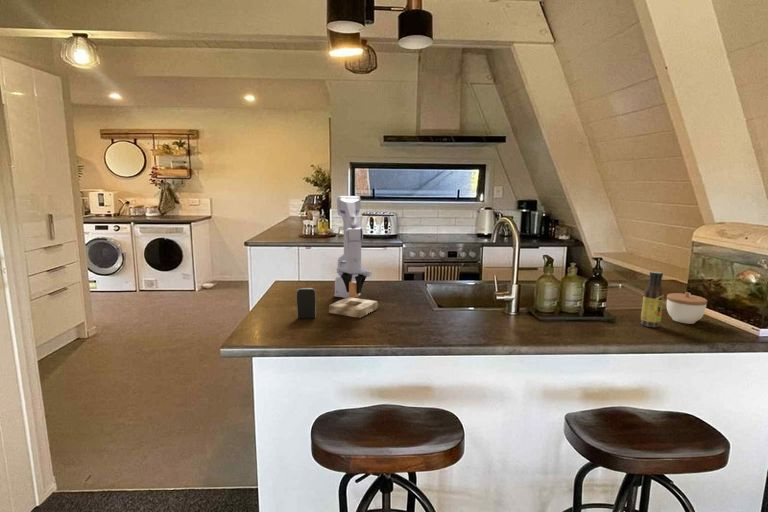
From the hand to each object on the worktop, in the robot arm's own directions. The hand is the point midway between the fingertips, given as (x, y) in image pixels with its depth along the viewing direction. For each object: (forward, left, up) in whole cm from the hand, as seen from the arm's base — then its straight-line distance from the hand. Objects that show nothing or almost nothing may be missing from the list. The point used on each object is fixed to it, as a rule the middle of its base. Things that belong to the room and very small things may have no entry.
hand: (353, 292), depth 175 cm
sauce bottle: (+104, +36, -8) cm, 110 cm away
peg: (0, 0, -1) cm, 1 cm away
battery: (-11, -16, -8) cm, 21 cm away
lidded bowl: (+116, +49, -8) cm, 126 cm away
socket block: (0, 0, -7) cm, 7 cm away
